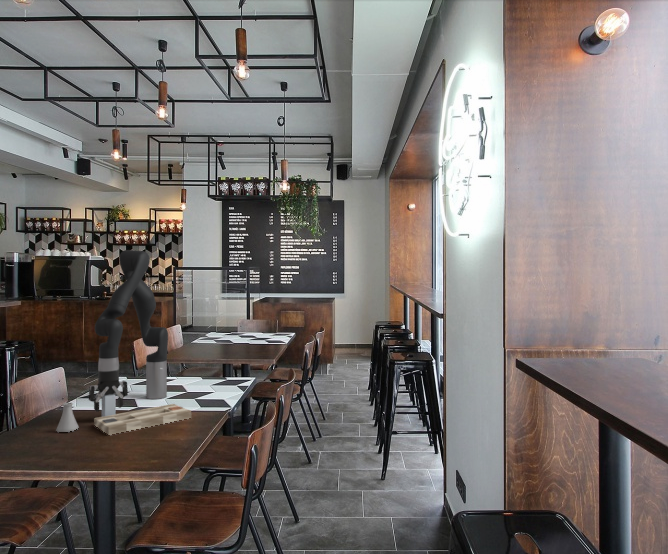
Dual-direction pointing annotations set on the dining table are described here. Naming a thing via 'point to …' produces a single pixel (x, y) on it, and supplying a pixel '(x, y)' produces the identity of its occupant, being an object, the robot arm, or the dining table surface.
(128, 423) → the socket block
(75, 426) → the flask
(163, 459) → the dining table surface
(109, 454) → the dining table surface
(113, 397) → the plug
